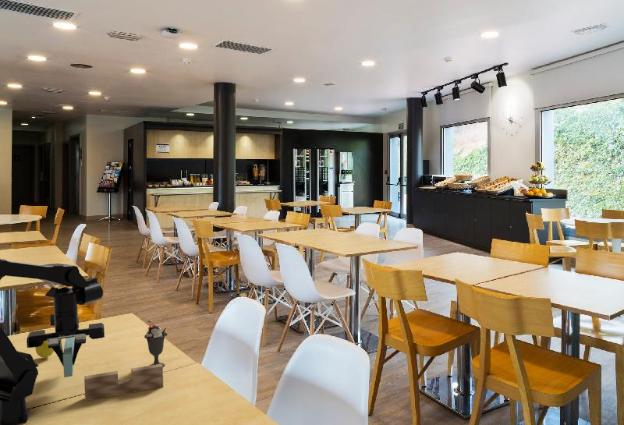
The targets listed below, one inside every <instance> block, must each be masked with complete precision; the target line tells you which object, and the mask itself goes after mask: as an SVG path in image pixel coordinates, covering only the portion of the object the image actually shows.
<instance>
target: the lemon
mask: <svg viewBox="0 0 624 425" xmlns="http://www.w3.org/2000/svg"><path fill="white" fill-rule="evenodd" d="M34 348H35V353H36V354H37V356H39V357H40V358H43V359H45V360H46V359H48V358H49V357H51V355H53V353H55V352H54V350H53V349H52V348H48V342H47V341H44V343H43V344H42V345H41V346H40V347H34Z"/></svg>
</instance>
